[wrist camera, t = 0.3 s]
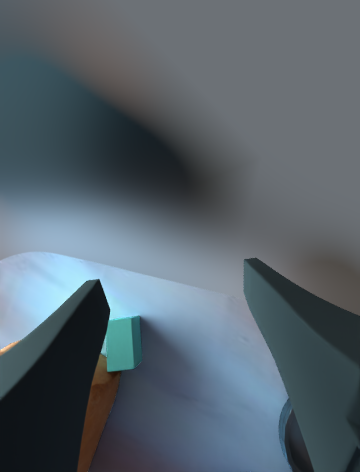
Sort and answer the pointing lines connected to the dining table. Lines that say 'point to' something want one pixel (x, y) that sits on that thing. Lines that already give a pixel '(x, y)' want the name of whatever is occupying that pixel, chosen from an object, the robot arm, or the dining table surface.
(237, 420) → the dining table surface
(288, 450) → the pan
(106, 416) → the bread
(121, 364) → the teal rectangular block
